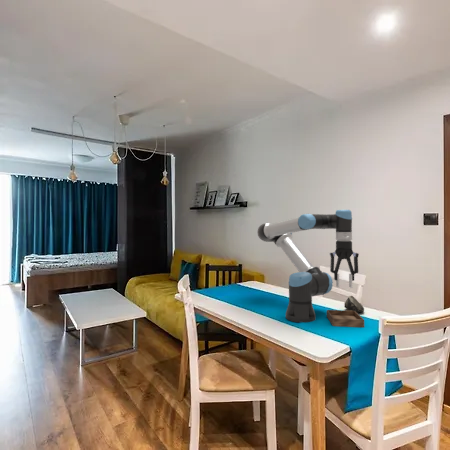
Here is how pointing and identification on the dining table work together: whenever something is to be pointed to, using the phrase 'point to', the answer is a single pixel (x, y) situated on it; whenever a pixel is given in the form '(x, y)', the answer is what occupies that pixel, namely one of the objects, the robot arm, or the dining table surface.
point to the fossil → (353, 305)
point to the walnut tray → (345, 318)
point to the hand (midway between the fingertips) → (344, 286)
